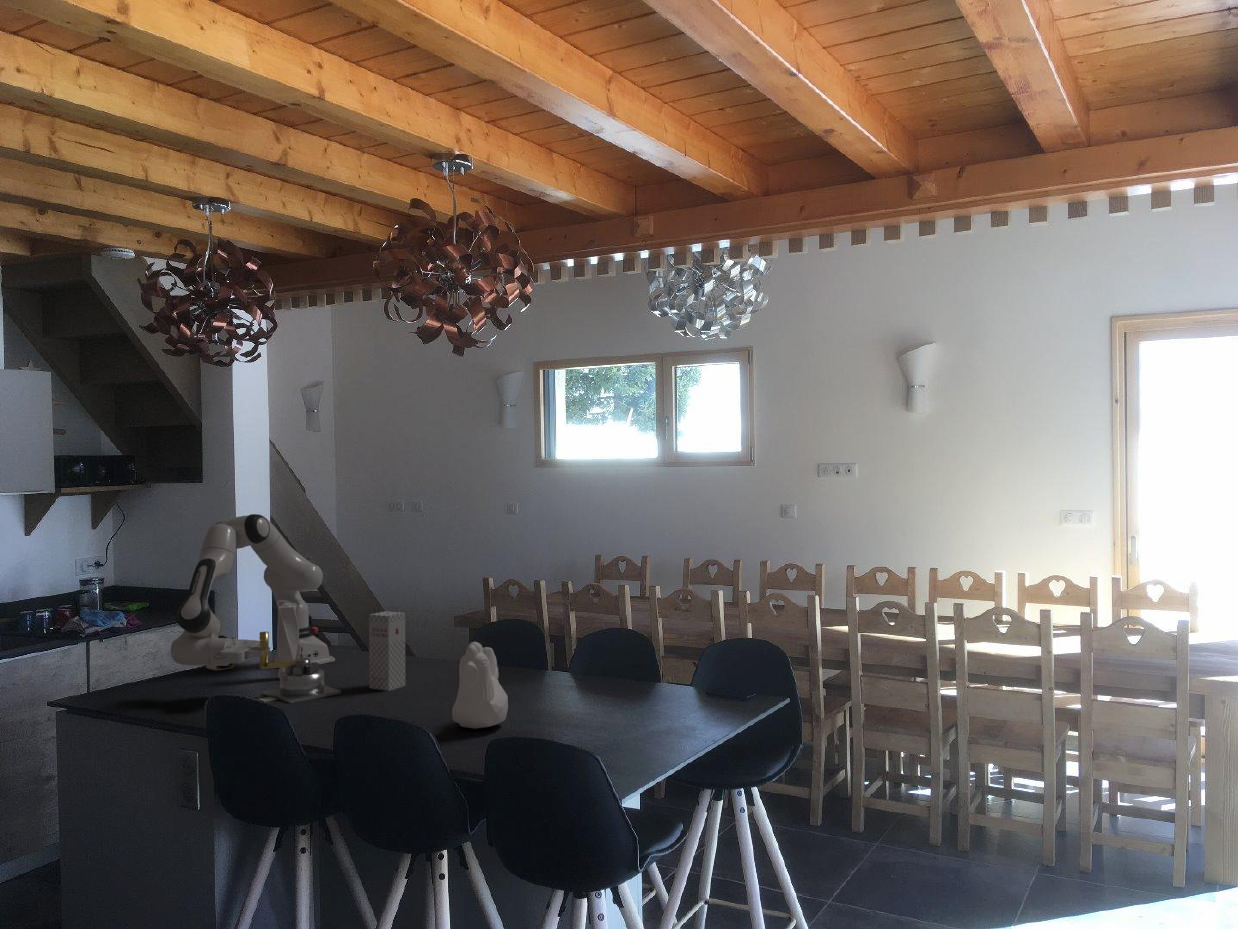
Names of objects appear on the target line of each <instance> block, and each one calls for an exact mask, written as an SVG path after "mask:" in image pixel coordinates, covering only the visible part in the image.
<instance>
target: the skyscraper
mask: <svg viewBox="0 0 1238 929" xmlns="http://www.w3.org/2000/svg"><path fill="white" fill-rule="evenodd" d="M278 602H287V603H283V604H282V606H281V607H280V606H279V603H278ZM292 604H294V605H292ZM277 605H278V607H279V611H280V614H279V619H278V618H277V626H276V644H277V646H276V647H278V653H279V658H280V661H289V660H295V659H296V655H297V650H298V643H299V626H298V620H297V616H296V612H295V610H296V607H297V604H295V603H290V602H288V601H284V600H280V601H277V603H276V606H277ZM300 658H304V654H303V642H302V647H301V654H300ZM284 671H285V667H279V668H278V672H277V676H276V679H278V680H280V673H282V672H284Z"/></svg>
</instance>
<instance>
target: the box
mask: <svg viewBox="0 0 1238 929" xmlns="http://www.w3.org/2000/svg"><path fill="white" fill-rule="evenodd" d="M368 640H369V641H368V642H369V643H368V649H369V650H368V651H369V655H368V656H369V657H368V659H369V660H368V662H369V665H368V666H369V667H368V668H369V672H368V673H369V674H368V676H369V685H368V686H369V689H373V690H381V691H388V692H390V691H394V690H396V689H399V688H402V687H406V613H405V612H399V611H389V610H387V611H386V610H385V611H379V612H375V613H370V614H368Z"/></svg>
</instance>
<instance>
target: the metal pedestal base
mask: <svg viewBox="0 0 1238 929" xmlns="http://www.w3.org/2000/svg"><path fill="white" fill-rule="evenodd" d="M262 692H263V695H264V696H266V697H272V698H275V699H276V700H280V701H283V702H284V703H289V704H294V703H298V702H299V703H300V702H304V701H310V700H315V699H320V698H325V697H330V696H331V697H332V696H335V695H340V694H342V691H341V689H338V688H333V687H330V686H327V685H325V670H324V669H320V668H319V671H316V673H313V674H306V673H303V675H293V674H286V673H285V671H284V672H282V673H280V679H279V688H275V689H269V690H263V691H262Z"/></svg>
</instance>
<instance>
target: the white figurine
mask: <svg viewBox="0 0 1238 929" xmlns="http://www.w3.org/2000/svg"><path fill="white" fill-rule="evenodd" d="M458 666H459V667H458V669H459V670H458V671H459V684H458V685H459V686H458V692H457V694H456V700H455V701H454V704H453V706H452V709H451V710H452V711H451V712H452V714H451V715H452V720H453V721H454V723H457V724H458V725H459V726H460V727H463V728H468V729H469V728H470V729H482V728H488V727H492V726H496V725H499V724H501V723H502V722H504V721H506V718H507V714H508V710H509V700H508V699H509V698H508V696H509V695H507V693H506V691H505V690H504V688H503V687H502V686H501V684H500V682H499V680H498V679H499V667H498V660H497V657H496V654H495V652H494V650H493V648H491V647H487V646H485V647H483V645H482V644H481V643H479V642H477V641H472V642H470V643H469V644H468V645H467V648H466V650H465V654H463V656H461V658H460V661H459V665H458Z"/></svg>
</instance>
